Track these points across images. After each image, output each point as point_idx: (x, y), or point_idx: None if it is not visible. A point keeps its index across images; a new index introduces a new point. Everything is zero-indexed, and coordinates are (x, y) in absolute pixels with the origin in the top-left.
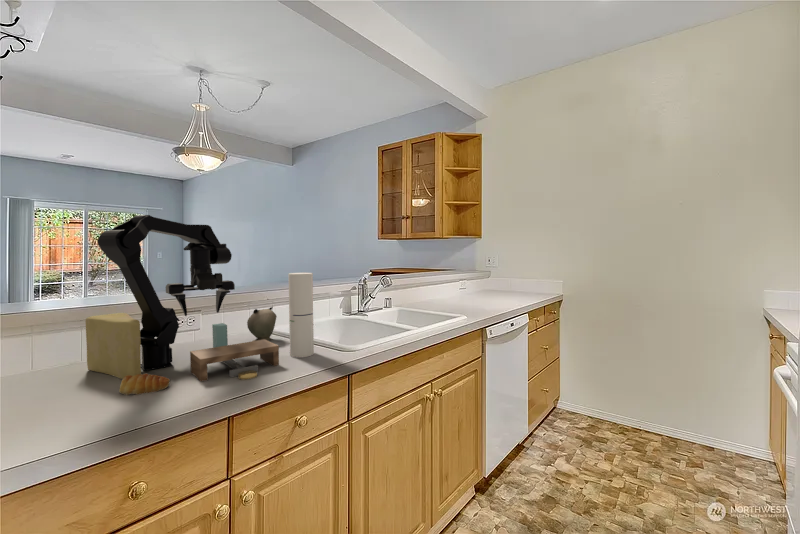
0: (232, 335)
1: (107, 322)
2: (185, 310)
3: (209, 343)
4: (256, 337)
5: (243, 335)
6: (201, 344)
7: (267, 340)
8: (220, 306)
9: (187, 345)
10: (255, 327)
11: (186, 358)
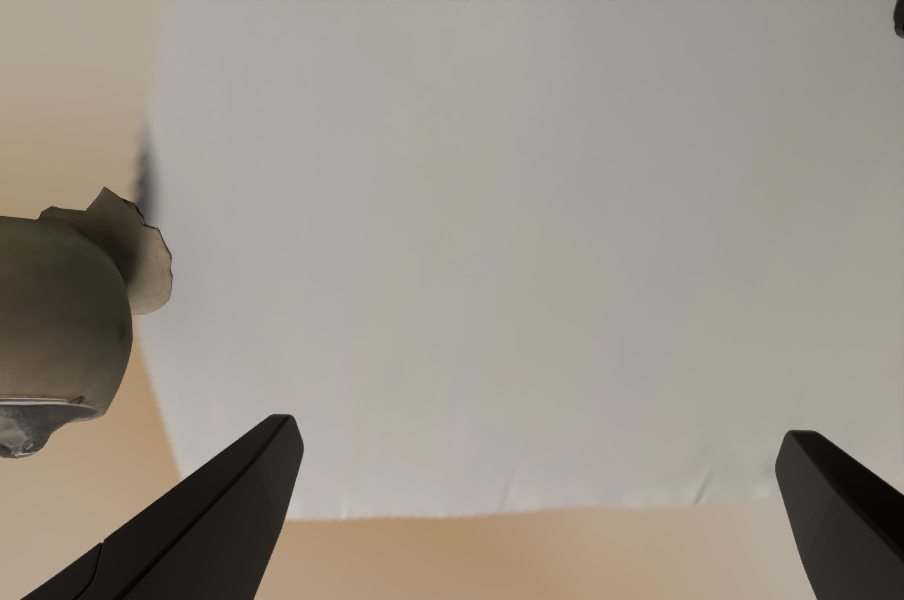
0: None
1: None
2: (883, 505)
3: (440, 398)
4: (117, 268)
5: None
6: (489, 405)
7: (51, 207)
8: (187, 477)
9: (568, 432)
10: (27, 246)
11: (711, 45)
